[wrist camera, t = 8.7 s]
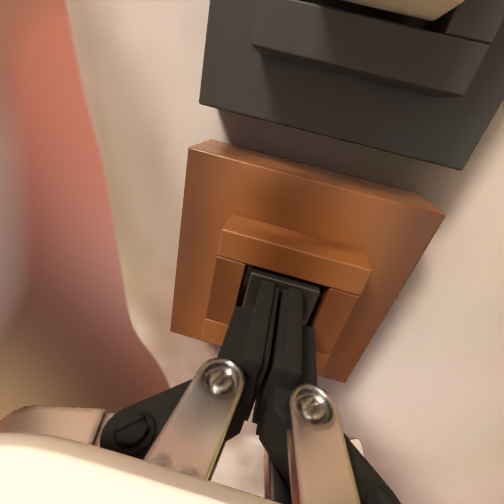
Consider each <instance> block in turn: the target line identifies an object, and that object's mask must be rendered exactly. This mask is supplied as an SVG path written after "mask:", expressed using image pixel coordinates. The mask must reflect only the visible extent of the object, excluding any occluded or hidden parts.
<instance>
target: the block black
mask: <svg viewBox="0 0 504 504" xmlns="http://www.w3.org/2000/svg"><path fill="white" fill-rule="evenodd" d="M503 99H504V0H464V2H462V3H461V4H459V5H458V6H456V7H454V8H453V9H451V10H450V11H448V12H447V13H445V14H444V15H442V16H441V17H439V18H438V19H436V20H434V21H429V20H424V19H420V18H416V17H411V16H407V15H403V14H398V13H394V12H390V11H386V10H381V9H377V8H373V7H368V6H364V5H360V4H355V3H351V2H347V1H342V0H210V6H209V15H208V25H207V34H206V43H205V52H204V61H203V70H202V79H201V88H200V98H199V103H200V104H201V105H205V106H209V107H213V108H217V109H221V110H225V111H229V112H233V113H237V114H240V115H244V116H248V117H252V118H256V119H260V120H264V121H268V122H272V123H276V124H280V125H283V126H287V127H291V128H295V129H299V130H303V131H307V132H311V133H315V134H319V135H323V136H326V137H330V138H334V139H338V140H342V141H346V142H350V143H354V144H358V145H362V146H365V147H369V148H373V149H377V150H381V151H385V152H389V153H393V154H397V155H401V156H405V157H408V158H412V159H416V160H420V161H424V162H428V163H432V164H436V165H440V166H444V167H447V168H451V169H455V170H462V169H463V168H464V166H465V165H466V163H467V161H468V159H469V158H470V156H471V154H472V153H473V151H474V149H475V147H476V146H477V144H478V142H479V141H480V139H481V137H482V135H483V134H484V132H485V130H486V129H487V127H488V125H489V123H490V122H491V120H492V118H493V117H494V115H495V113H496V111H497V110H498V108H499V106H500V105H501V103H502V101H503Z"/></svg>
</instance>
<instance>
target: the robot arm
mask: <svg viewBox="0 0 504 504" xmlns="http://www.w3.org/2000/svg"><path fill="white" fill-rule="evenodd" d="M278 296H279V288H277V287H275V283H273V282H269V281H265V280H262V283H261V287H260V290H259V293H258V297H257V300H256V304H255V307H254V311H253V310H249V309H246V308H242V307H239V306H235V309H234V312H233V314H232V317H231V320H230V323H229V326H228V329H227V332H226V334H225V337H224V340H223V343H222V346H221V349H220V352H219V354H218V357H217V358H213V359H210V360H208V361H206V362H205V363H203V365H202V366H201V367H200V368H199V370H198V371H197V373H196V375H195V376H194V378H193V379H191V380H189V381H187V382H185V383H182V384H180V385H178V386H175V387H173V388H171V389H168V390H166V391H164V392H161V393H159V394H157V395H154V396H152V397H150V398H147V399H145V400H143V401H140V402H138V403H136V404H133V405H131V406H129V407H127V408H124V409H122V410H121V411H119V412H117V413H105V409H94V408H75V407H57V406H38V405H34V406H25V407H23V408H20V409H17V410H15V411H13V412H12V413H10V414H9V415H7V416H6V417H4V418H3V419H2V420H1V421H0V504H401V503H400V501H399V500H398V498H397V497H396V495H395V494H394V493H393V491H392V490H391V489H390V488H389V487H388V485H387V484H386V483H385V482H384V481H383V479H382V478H381V477H380V476H379V475H378V473H377V472H376V471H375V470H374V469H373V467H372V466H371V465H370V464H369V463H368V461H367V460H366V459H365V458H364V457H363V455H362V454H361V453H360V452H359V451H358V449H357V448H356V447H355V446H354V445H353V443H352V442H351V441H350V440H349V439H348V437H347V436H346V435H345V434H344V433H343V430H342V426H341V422H340V418H339V414H338V410H337V407H336V404H335V402H334V400H333V399H332V397H331V396H330V395H329V394H328V393H327V392H326V391H325V390H324V389H322V388H320V387H319V386H317V370H316V345H315V329H314V328H312V327H309V326H305V325H302V312H303V291H301V290H297V289H294V288H290V287H289V289H288V290H284V289H283V291H282V294H281V297H280V300H279V303H278ZM277 303H278V306H277ZM255 399H256V401H255ZM254 402H255V407H254V413H253V419H252V422H253V423H256V424H257V429H256V435H259V440H260V441H261V443H262V445H263V446H264V448H265V455H264V480H265V498H262V497H259V496H256V495H252V494H249V493H246V492H243V491H240V490H237V489H234V488H230V487H227V486H224V485H221V484H218V483H215V482H211V480H212V477H213V475H214V472H215V470H216V467H217V464H218V462H219V459H220V457H221V454H222V452H223V449H224V447H225V444H226V441H228V440H229V439H231V438H233V437H234V436H236V435H237V434H239V433H240V431H241V428H242V426H243V423H244V420H246V421H248V418H249V416H250V413H251V410H252V408H253V405H254Z"/></svg>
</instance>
